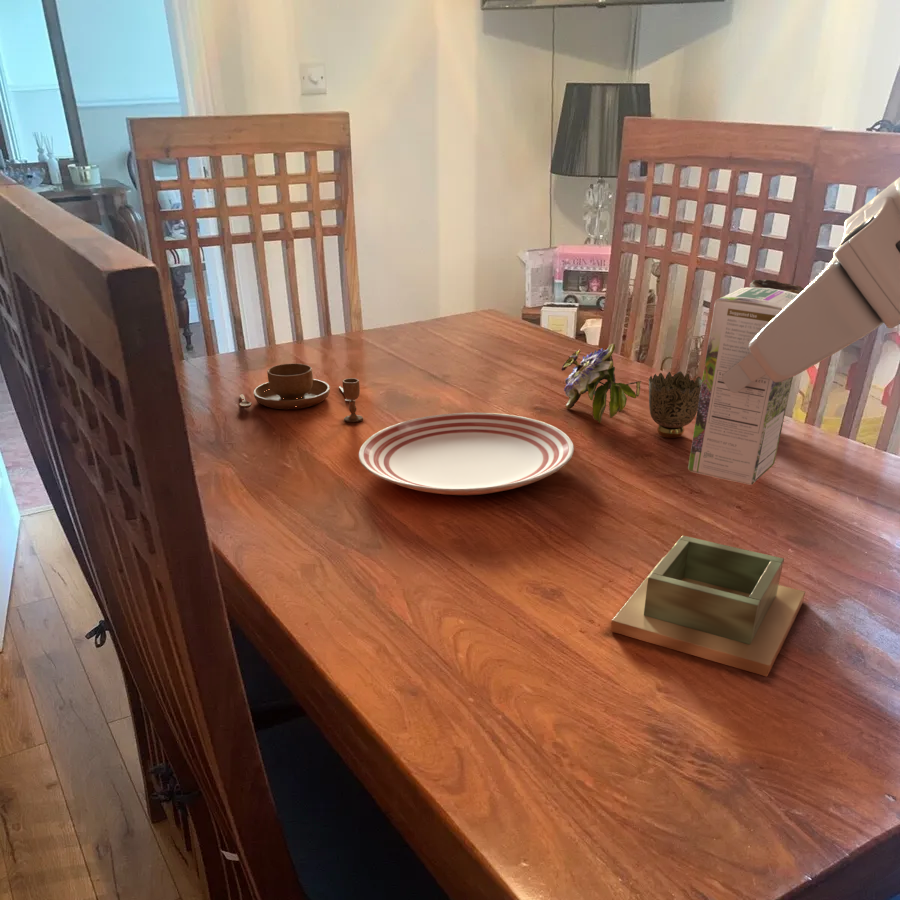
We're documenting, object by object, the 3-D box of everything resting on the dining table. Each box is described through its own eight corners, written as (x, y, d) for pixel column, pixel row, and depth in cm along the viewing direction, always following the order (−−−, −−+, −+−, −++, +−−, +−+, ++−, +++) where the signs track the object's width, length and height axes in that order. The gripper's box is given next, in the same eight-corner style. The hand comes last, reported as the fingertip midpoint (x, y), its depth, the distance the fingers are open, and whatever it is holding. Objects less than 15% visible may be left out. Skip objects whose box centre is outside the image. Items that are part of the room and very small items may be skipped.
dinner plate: (321, 494, 105) (319, 468, 104) (411, 422, 127) (411, 400, 126) (537, 528, 97) (538, 501, 95) (594, 445, 118) (596, 421, 117)
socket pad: (803, 601, 82) (814, 554, 80) (767, 677, 72) (778, 624, 70) (661, 566, 89) (667, 521, 86) (610, 631, 79) (615, 582, 76)
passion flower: (569, 442, 134) (553, 368, 135) (638, 427, 134) (622, 353, 135) (575, 423, 123) (557, 343, 124) (650, 407, 123) (632, 326, 123)
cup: (708, 437, 120) (716, 380, 116) (671, 448, 117) (678, 390, 113) (668, 422, 126) (675, 368, 122) (632, 433, 122) (637, 377, 118)
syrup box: (711, 452, 78) (737, 284, 70) (777, 466, 75) (811, 292, 67) (686, 472, 74) (711, 296, 66) (754, 488, 71) (788, 305, 63)
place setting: (340, 383, 144) (337, 347, 141) (368, 421, 128) (366, 381, 125) (234, 394, 140) (229, 358, 137) (249, 435, 123) (243, 395, 120)
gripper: (896, 202, 68) (751, 315, 78) (851, 237, 53) (677, 372, 63) (943, 266, 69) (792, 371, 78) (911, 319, 54) (729, 441, 63)
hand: (741, 372), depth 70 cm, fingers closed on syrup box, 6 cm apart
